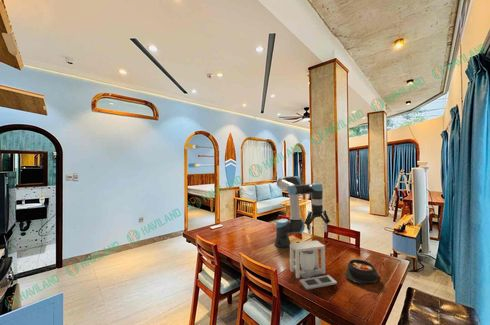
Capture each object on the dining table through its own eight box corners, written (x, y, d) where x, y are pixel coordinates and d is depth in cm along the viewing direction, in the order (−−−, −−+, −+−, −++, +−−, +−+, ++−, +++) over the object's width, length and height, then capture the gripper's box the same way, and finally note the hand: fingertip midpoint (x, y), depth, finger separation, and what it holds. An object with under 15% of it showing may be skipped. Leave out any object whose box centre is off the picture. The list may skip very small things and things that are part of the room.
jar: (317, 271, 140) (317, 251, 139) (311, 278, 132) (310, 256, 132) (304, 266, 147) (304, 246, 147) (297, 271, 140) (296, 251, 140)
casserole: (366, 291, 118) (366, 277, 118) (337, 276, 134) (337, 264, 134) (385, 277, 131) (385, 265, 131) (357, 265, 147) (357, 254, 147)
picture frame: (288, 262, 152) (288, 243, 152) (306, 259, 155) (306, 240, 155) (302, 277, 131) (302, 255, 131) (323, 274, 135) (322, 252, 135)
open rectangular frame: (290, 270, 142) (289, 243, 142) (316, 266, 147) (316, 240, 147) (306, 289, 121) (306, 258, 121) (337, 283, 126) (336, 253, 126)
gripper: (305, 206, 138) (305, 236, 138) (334, 204, 144) (335, 232, 145) (299, 204, 145) (299, 232, 145) (328, 201, 151) (328, 229, 152)
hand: (317, 232), depth 145 cm, fingers open, 13 cm apart
